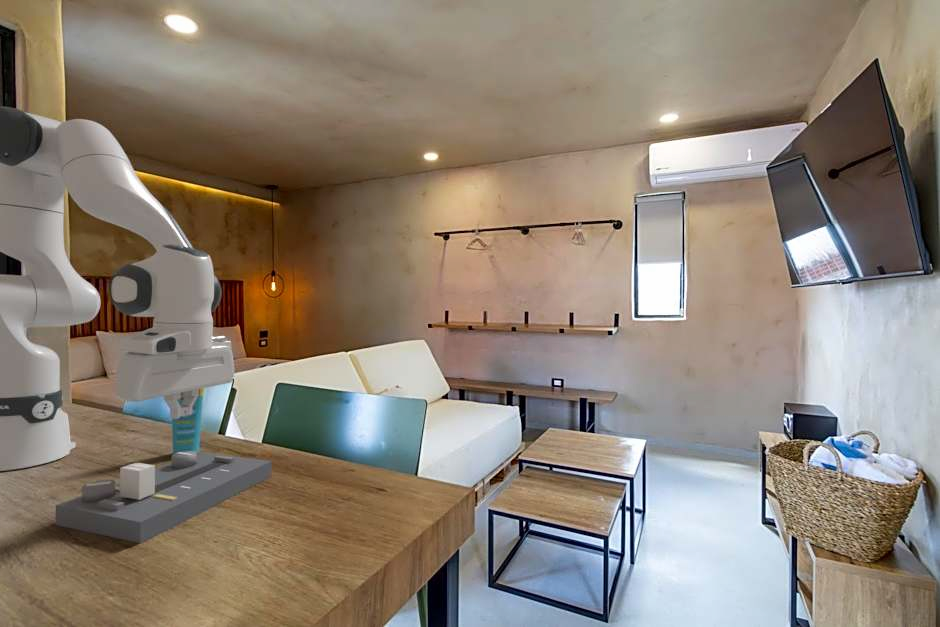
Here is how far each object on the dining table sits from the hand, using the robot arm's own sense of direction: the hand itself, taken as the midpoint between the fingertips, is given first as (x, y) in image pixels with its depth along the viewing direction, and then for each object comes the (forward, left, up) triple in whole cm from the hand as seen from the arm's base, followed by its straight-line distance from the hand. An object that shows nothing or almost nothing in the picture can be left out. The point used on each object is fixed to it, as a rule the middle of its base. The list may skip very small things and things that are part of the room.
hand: (181, 416), depth 78 cm
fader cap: (+1, -8, -10) cm, 13 cm away
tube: (-18, +17, -14) cm, 28 cm away
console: (+1, -1, -14) cm, 14 cm away
